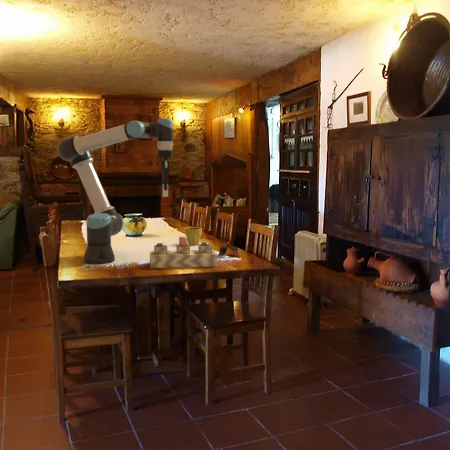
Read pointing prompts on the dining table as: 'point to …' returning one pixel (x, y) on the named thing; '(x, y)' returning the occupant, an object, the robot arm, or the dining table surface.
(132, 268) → the dining table surface
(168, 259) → the beige long block
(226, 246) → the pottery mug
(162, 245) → the knob near
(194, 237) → the plant pot
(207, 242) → the knob far
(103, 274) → the dining table surface
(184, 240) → the knob middle
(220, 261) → the dining table surface
